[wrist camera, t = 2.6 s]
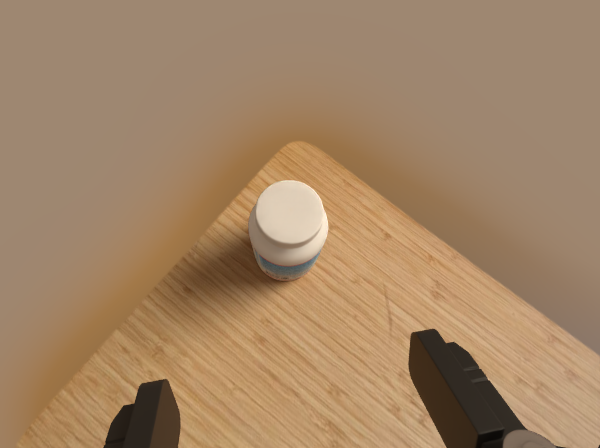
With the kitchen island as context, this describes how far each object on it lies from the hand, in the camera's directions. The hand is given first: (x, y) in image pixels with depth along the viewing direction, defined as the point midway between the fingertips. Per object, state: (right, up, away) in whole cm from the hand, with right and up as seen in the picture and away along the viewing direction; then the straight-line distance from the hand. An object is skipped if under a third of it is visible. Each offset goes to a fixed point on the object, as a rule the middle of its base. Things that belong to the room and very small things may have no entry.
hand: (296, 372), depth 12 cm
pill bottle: (-1, +2, +23) cm, 23 cm away
